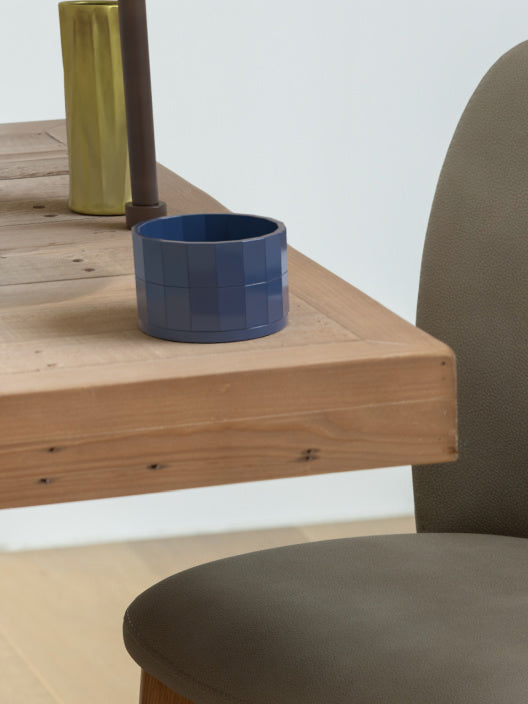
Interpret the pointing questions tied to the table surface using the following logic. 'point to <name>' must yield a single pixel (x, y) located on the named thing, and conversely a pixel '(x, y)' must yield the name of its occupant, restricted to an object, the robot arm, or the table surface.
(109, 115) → the vase
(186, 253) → the bowl
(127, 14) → the stir stick
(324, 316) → the table surface
